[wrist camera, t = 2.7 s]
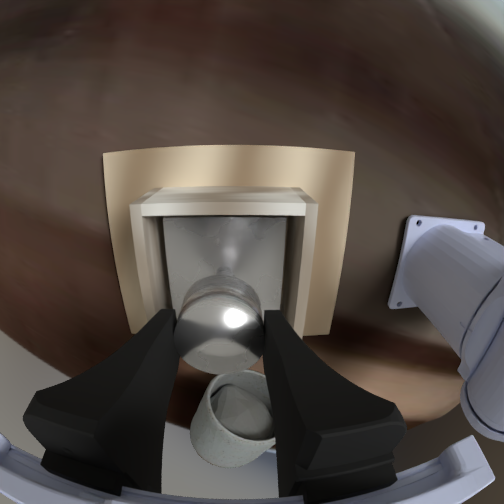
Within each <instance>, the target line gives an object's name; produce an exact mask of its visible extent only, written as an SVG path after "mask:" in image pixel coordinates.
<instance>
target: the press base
mask: <svg viewBox="0 0 504 504" xmlns="http://www.w3.org/2000/svg"><path fill="white" fill-rule="evenodd" d="M354 158H355V152H350V151H341V150H331V149H320V148H307V147H291V146H268V145H198V146H176V147H160V148H147V149H136V150H126V151H118V152H109V153H103V163H104V178H105V190H106V200H107V209H108V218H109V225H110V232H111V239H112V246H113V252H114V258H115V263H116V268H117V274H118V279H119V284H120V288H121V293H122V297H123V302H124V306H125V310H126V314H127V318H128V322H129V326H130V330H131V333H133V334H136V333H137V332H138V331H139V330H140V329H141V328H143V326H144V325H145V324H146V323H147V322H148V321H149V320H150V319H151V318H152V317H153V316H154V315H155V314H156V313H157V312H158V311H159V310H160V309H173V305H172V298H171V291H170V283H169V275H168V267H167V258H166V248H165V238H164V226H163V217H164V216H168V215H285V216H286V234H285V249H284V264H283V277H282V290H281V302H280V311H281V312H282V314H283V315H284V317H285V318H286V320H287V321H288V322H289V324H290V325H291V327H292V328H293V329H294V331H295V332H296V333H297V334H298V335H299V337H300V338H301V339H302V336H309V335H324V334H329V331H330V327H331V322H332V317H333V312H334V307H335V302H336V297H337V292H338V286H339V281H340V275H341V269H342V263H343V256H344V250H345V243H346V235H347V228H348V220H349V212H350V203H351V193H352V183H353V171H354ZM177 320H178V319H177ZM263 324H264V320H263Z"/></svg>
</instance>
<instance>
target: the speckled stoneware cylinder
mask: <svg viewBox="0 0 504 504" xmlns="http://www.w3.org/2000/svg"><path fill="white" fill-rule="evenodd" d="M190 438H191V442H192V445H193V447H194V449H195V450H196V452H197V453H198V455H199V456H200V457H201V458H203V459H204V460H205V461H207V462H209V463H210V464H212V465H216V466H218V467H224V468H234V467H240V466H243V465H245V464H248V463H250V462H252V461H253V460H255V459H256V458H257V457H259V456H260V455H261V454H262V453H264V452H265V451H266V450H268V449H269V448H270V447H272V446H273V445H274V444H276V442H275V430H274V419H273V412H272V407H271V402H270V397H269V392H268V387H267V382H266V377H265V375H264V374H262V373H259V372H256V371H253V370H248V369H245V370H243V371H241V372H237V373H233V374H218V375H217V376H216V377H214V378H213V379H212V380H211V381H210V383H209V385H208V387H207V389H206V391H205V394H204V396H203V398H202V400H201V402H200V404H199V407H198V409H197V412H196V413H195V415H194V417H193V420H192V423H191V427H190Z"/></svg>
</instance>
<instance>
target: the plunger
mask: <svg viewBox="0 0 504 504" xmlns="http://www.w3.org/2000/svg"><path fill="white" fill-rule="evenodd" d="M163 226H164V238H165V248H166V258H167V267H168V275H169V283H170V291H171V298H172V305H173V309H175V312H176V318H177V319H178V320H177V324H176V327H175V331H174V343H175V348H176V350H177V352H178V353H179V355H180V356H181V357H182V359H183V360H184V361H186V362H187V363H188V364H189V365H191V366H192V367H194V368H196V369H198V370H201V371H204V372H207V373H211V374H233V373H237V372H241V371H243V370H245V369H248V368H249V367H251V366H252V365H254V364H255V363H256V362H257V361H258V360H259V359H260V357H261V356H262V354H263V352H264V349H265V332H264V324H263V320H264V310H280V302H281V290H282V277H283V264H284V249H285V234H286V216H285V215H168V216H164V217H163Z"/></svg>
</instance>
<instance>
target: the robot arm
mask: <svg viewBox="0 0 504 504" xmlns="http://www.w3.org/2000/svg"><path fill="white" fill-rule="evenodd" d="M418 220H419V223H418V224H417V225H416V223H417V221H418ZM474 226H475V227H474ZM484 229H485V224H484V223H483V222H480V221H471V220H462V219H452V218H441V217H430V216H417V215H411V216H409V217H408V219H407V221H406V227H405V232H404V238H403V243H402V248H401V252H400V257H399V261H398V266H397V270H396V274H395V278H394V282H393V286H392V290H391V293H390V297H389V301H388V306H389V308H390V309H400V308H410V307H419V309H420V310H421V311H422V312H423V313H424V314H425V316H426V317H427V318H428V319H429V320H430V321H431V323H432V324H433V325H434V326H435V327H436V329H437V330H438V331H439V332H440V333H441V335H442V336H443V337H444V338H445V339H446V341H447V342H448V343H449V344H450V346H451V347H452V348H453V349H454V351H455V352H456V353H457V355H458V356H459V357H460V358H461V364H460V366H459V368H458V372H459V373H460V374H461V376H462V377H463V379H464V380H465V382H464V383H463V385H462V388H461V392H460V401H461V406H462V409H463V412H464V414H465V416H466V418H467V420H468V421H469V422H470V424H471V425H472V426H473V428H474V429H475V430H477V431H478V432H479V433H481V434H482V435H484V436H485V437H488V438H490V439H493V440H498V441H502V442H504V246H502V245H500V244H499V243H497V242H495V241H494V240H492V239H490V238H489V237H487V236H485V235H483V233H484ZM398 302H399V303H398ZM397 303H398V304H397ZM176 324H177V318H176V312H175V309H160V310H159V311H158V312H157V313H156V314H155V315H154V316H153V317H152V318H151V319H150V320H149V321H148V322H147V323H146V324H145V325H144V326H143V328H141V329H140V330H139V331H138V332H137V333H136V334H135V335H134V336H133V337H132V338H131V339H130V340H129V341H128V342H126V343H125V344H124V345H123V346H122V347H121V348H120V349H118V350H117V351H116V352H114V353H113V354H112V355H111V356H109V357H108V358H106V359H105V360H103V361H102V362H100V363H99V364H97V365H96V366H94V367H92V368H90V369H89V370H87V371H85V372H84V373H82V374H80V375H78V376H76V377H74V378H72V379H69V380H67V381H65V382H63V383H60V384H57V385H55V386H52V387H49V388H46V389H43V390H39V391H36V393H35V395H34V397H33V398H32V400H31V402H30V404H29V406H28V408H27V409H26V411H25V413H24V415H23V421H24V424H25V426H26V427H27V429H28V430H29V431H30V432H31V434H32V435H33V436H34V437H35V438H36V439H37V440H38V441H39V442H40V443H41V445H42V446H43V447H44V448H45V449H46V451H45V453H44V456H43V458H42V459H40V458H38V457H36V456H34V455H32V454H30V453H27V452H26V451H24V450H22V449H20V448H18V447H16V446H14V445H12V444H11V443H10V442H9V440H8V439H6V437H5V436H4V435H3V434H1V433H0V492H1V493H2V494H4V495H5V496H7V497H8V498H10V499H12V500H13V501H14V502H16V503H18V504H461V503H463V502H464V501H466V500H467V499H469V498H470V497H472V496H473V495H475V494H476V493H478V492H479V491H480V490H482V489H483V488H485V487H486V486H487V485H489V484H490V483H492V482H493V481H494V480H495V477H494V475H493V473H492V470H491V468H490V467H489V464H488V462H487V461H486V459H485V457H484V455H483V453H482V451H481V449H480V447H479V445H478V443H477V442H476V440H475V438H474V437H473V435H470V436H468V437H466V438H464V439H462V440H460V441H458V442H456V443H454V444H452V445H451V446H449V447H448V448H447V449H445V450H444V451H443V452H442V453H441V454H440V456H439V457H438V458H435V459H433V460H431V461H428V462H426V463H423V464H421V465H418V466H416V467H413V468H410V469H408V470H405V471H402V472H400V473H395V470H394V468H393V465H392V462H393V461H394V460H395V459H394V455H393V453H392V451H393V449H394V448H395V447H396V446H397V444H398V443H399V442H400V441H401V439H402V438H403V436H404V435H405V433H406V431H407V426H406V423H405V421H404V419H403V417H402V415H401V413H400V411H399V410H398V408H397V406H396V405H395V403H393V402H390V401H388V400H386V399H383V398H381V397H378V396H376V395H374V394H372V393H370V392H368V391H366V390H364V389H362V388H360V387H358V386H357V385H355V384H353V383H352V382H350V381H349V380H347V379H346V378H344V377H343V376H341V375H340V374H338V373H337V372H335V371H334V370H333V369H331V368H330V367H329V366H328V365H327V364H326V363H324V362H323V361H322V360H321V359H320V358H319V357H318V356H317V355H316V354H315V353H314V352H313V351H312V350H311V349H310V348H309V347H308V346H307V345H306V344H305V343H304V341H303V340H302V339H301V338H300V337H299V335H298V334H297V333H296V332H295V331H294V329H293V328H292V327H291V325H290V324H289V322H288V321H287V320H286V318H285V317H284V315H283V314H282V312H281V311H280V310H264V332H265V349H264V352H263V365H264V372H265V377H266V382H267V387H268V392H269V397H270V402H271V407H272V412H273V419H274V430H275V442H276V455H277V469H278V488H279V498H268V499H239V500H237V499H234V500H232V499H230V500H229V499H206V498H192V497H182V496H174V495H166V494H161V470H162V451H163V439H164V429H165V421H166V414H167V409H168V405H169V401H170V397H171V393H172V389H173V385H174V382H175V378H176V374H177V370H178V366H179V359H180V355H179V353H178V352H177V350H176V348H175V343H174V331H175V327H176Z"/></svg>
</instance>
